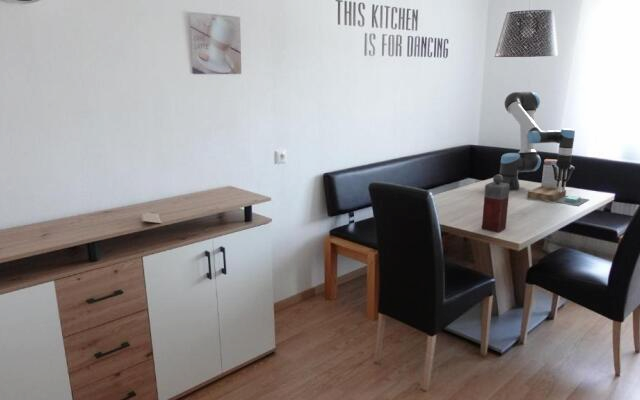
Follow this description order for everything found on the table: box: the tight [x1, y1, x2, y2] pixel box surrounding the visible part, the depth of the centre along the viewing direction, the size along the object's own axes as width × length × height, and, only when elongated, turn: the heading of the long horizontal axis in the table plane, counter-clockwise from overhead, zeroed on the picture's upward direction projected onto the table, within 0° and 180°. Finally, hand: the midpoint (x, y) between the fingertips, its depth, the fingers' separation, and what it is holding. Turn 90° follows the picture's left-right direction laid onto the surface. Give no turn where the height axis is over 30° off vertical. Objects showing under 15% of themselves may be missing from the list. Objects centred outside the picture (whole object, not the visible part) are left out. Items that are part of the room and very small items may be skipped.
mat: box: [553, 195, 590, 207], centre depth 294 cm, size 14×20×1 cm
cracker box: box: [540, 158, 568, 190], centre depth 316 cm, size 14×6×21 cm, turn 58°
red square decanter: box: [481, 173, 510, 234], centre depth 239 cm, size 9×11×28 cm
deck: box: [527, 186, 567, 203], centre depth 303 cm, size 16×20×4 cm
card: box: [565, 195, 582, 203], centre depth 293 cm, size 6×9×2 cm, turn 135°
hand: (559, 191), depth 298 cm, fingers closed
